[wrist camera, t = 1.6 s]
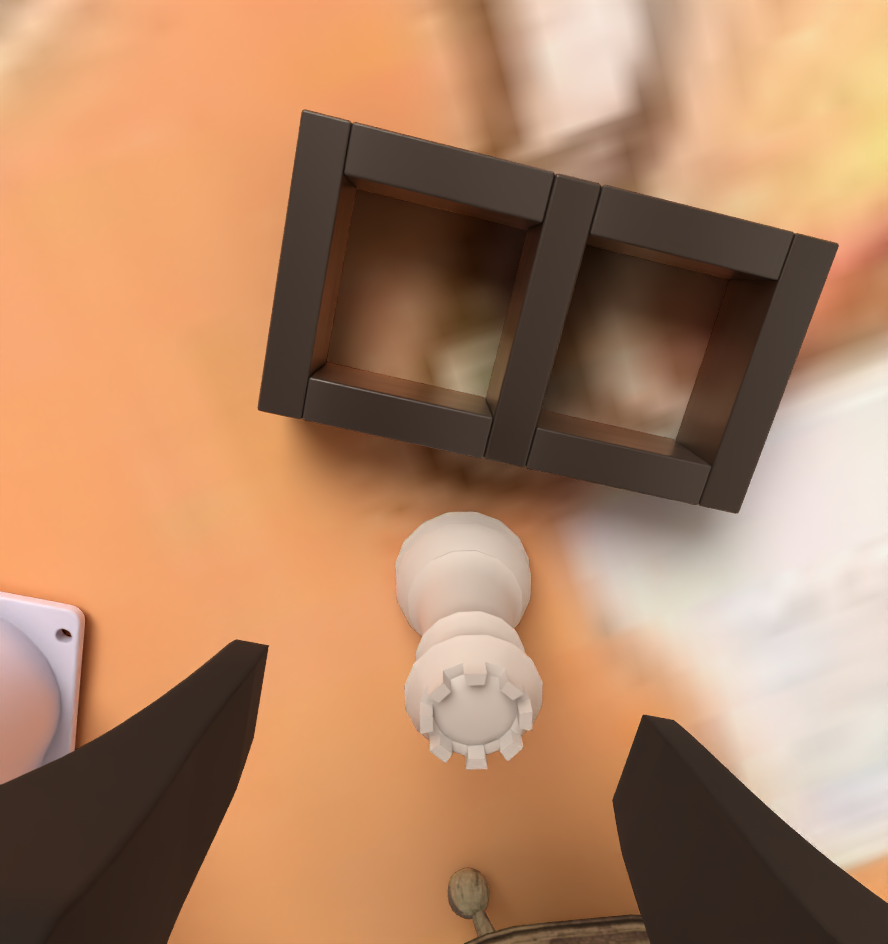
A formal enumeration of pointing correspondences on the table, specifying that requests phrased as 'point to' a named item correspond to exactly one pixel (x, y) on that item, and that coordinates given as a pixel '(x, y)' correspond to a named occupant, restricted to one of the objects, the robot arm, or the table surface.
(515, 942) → the tabletop clock
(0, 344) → the table surface
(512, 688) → the rook chess piece
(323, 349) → the rack
